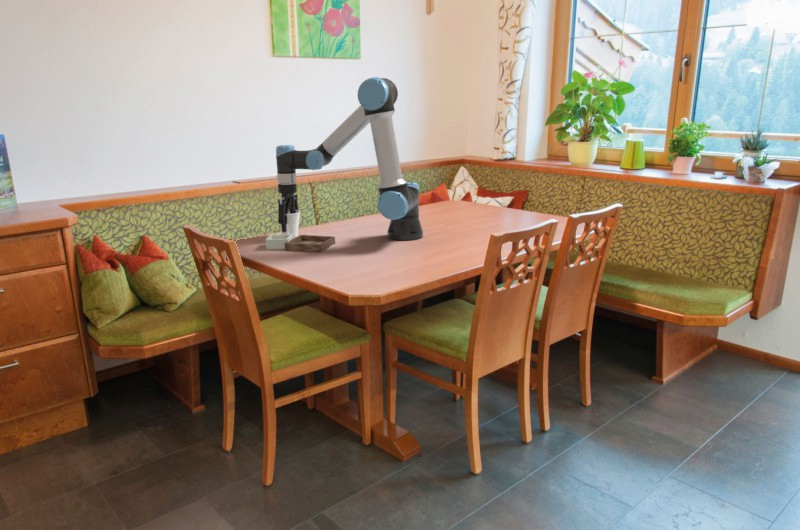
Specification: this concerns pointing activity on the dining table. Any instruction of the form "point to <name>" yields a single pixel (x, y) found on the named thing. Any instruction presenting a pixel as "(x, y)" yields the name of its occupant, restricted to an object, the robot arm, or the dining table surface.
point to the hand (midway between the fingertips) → (290, 236)
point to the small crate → (277, 241)
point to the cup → (293, 223)
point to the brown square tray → (310, 243)
